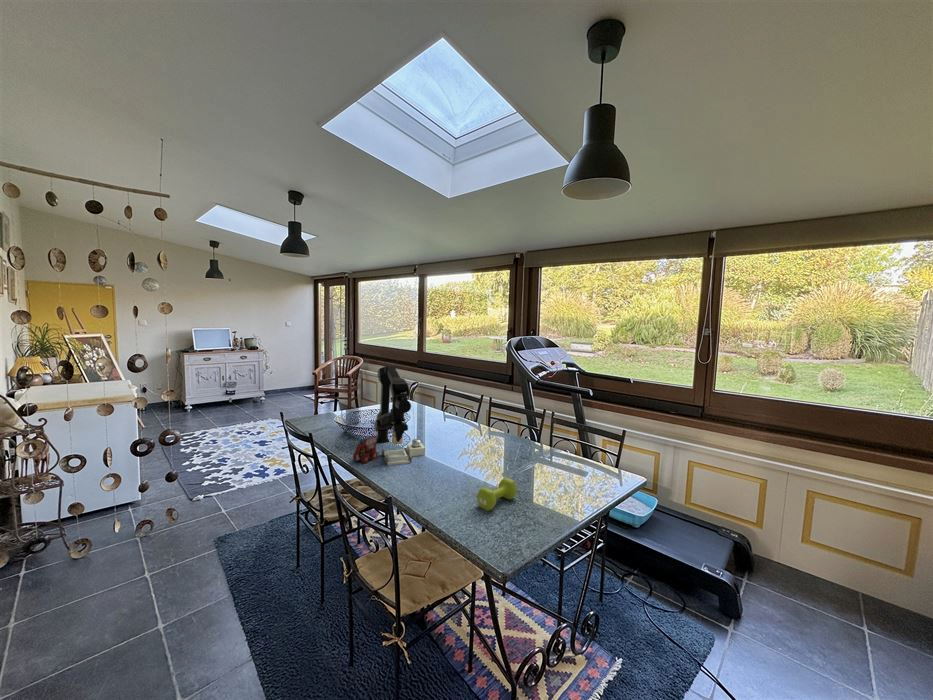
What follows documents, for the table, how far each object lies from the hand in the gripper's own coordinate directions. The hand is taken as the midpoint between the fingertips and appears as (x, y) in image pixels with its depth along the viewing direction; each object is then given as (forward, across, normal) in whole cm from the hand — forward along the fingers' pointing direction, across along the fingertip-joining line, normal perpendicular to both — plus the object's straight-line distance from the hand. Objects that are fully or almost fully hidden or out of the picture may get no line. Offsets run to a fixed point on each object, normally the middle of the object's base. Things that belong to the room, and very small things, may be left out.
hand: (397, 440), depth 166 cm
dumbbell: (+10, +49, +29) cm, 58 cm away
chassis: (+9, -1, 0) cm, 9 cm away
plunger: (+6, -6, +10) cm, 14 cm away
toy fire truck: (+10, -3, -14) cm, 17 cm away
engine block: (+1, 0, 0) cm, 1 cm away
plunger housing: (+9, -6, +10) cm, 15 cm away
